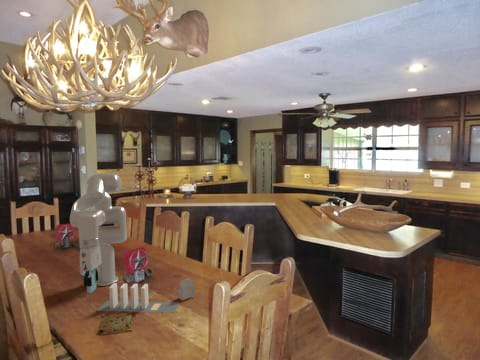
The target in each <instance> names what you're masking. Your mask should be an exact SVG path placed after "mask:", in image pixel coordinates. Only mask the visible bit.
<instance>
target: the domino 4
mask: <svg viewBox="0 0 480 360" xmlns="http://www.w3.org/2000/svg"><path fill="white" fill-rule="evenodd" d="M138 285H139V283H133V285H132V286H130V291H129V292H130V301H131V309H135V308H136V307H137V305H138V302H139V286H138Z"/></svg>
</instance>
